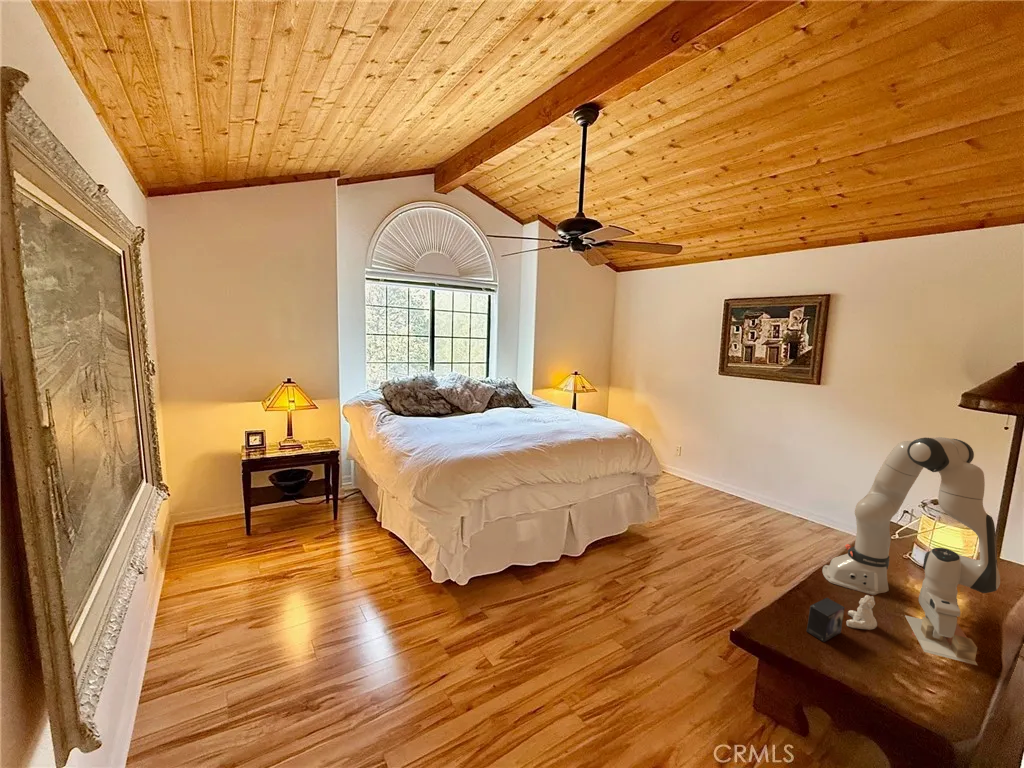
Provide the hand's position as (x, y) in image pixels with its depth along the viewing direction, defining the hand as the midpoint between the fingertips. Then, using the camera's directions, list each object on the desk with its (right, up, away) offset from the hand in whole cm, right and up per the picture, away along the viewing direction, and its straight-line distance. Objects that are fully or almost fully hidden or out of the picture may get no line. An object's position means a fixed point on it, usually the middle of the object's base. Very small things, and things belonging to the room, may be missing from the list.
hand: (932, 631), depth 161 cm
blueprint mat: (+1, -2, -1) cm, 3 cm away
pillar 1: (0, -2, 0) cm, 2 cm away
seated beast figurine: (-20, -1, +7) cm, 21 cm away
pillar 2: (+2, -3, -9) cm, 9 cm away
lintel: (+7, -2, 0) cm, 7 cm away
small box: (-36, -2, +2) cm, 36 cm away
